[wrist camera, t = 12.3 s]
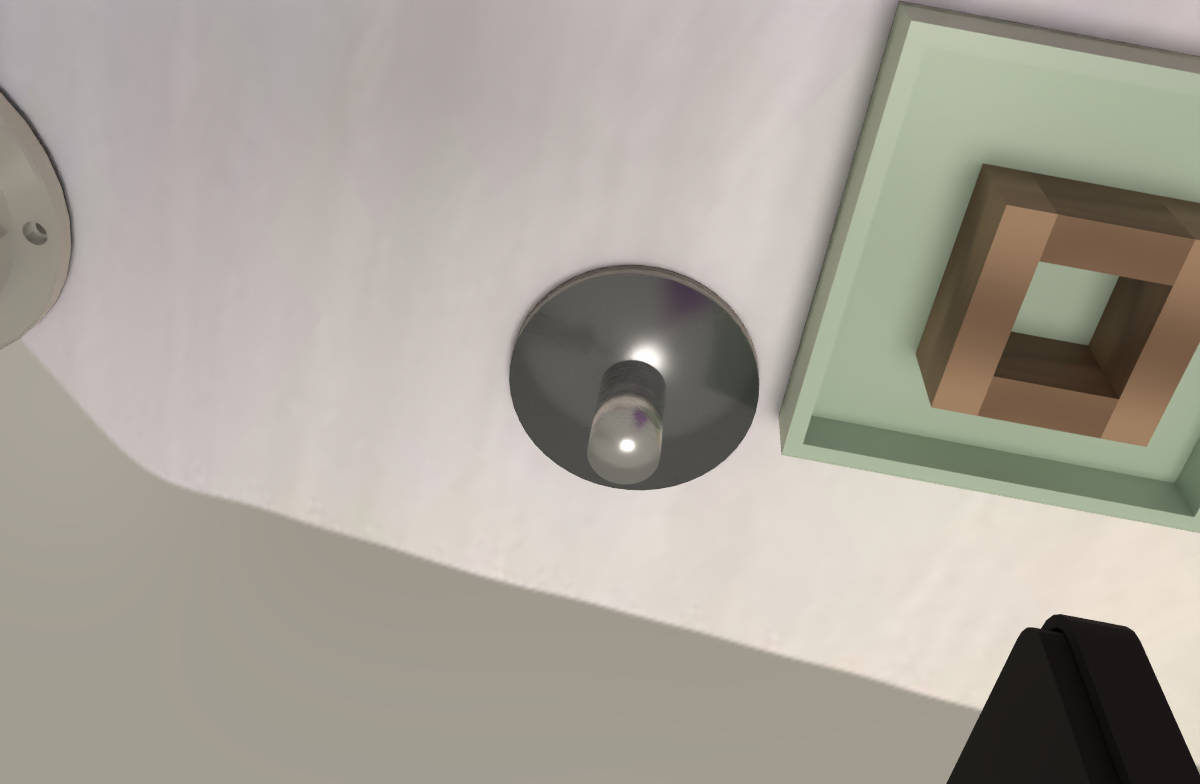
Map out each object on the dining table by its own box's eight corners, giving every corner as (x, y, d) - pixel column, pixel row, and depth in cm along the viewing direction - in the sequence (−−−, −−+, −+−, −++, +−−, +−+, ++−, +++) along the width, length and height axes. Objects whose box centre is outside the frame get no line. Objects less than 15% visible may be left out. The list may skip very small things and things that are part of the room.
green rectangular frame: (778, 416, 41) (781, 454, 39) (899, 1, 33) (911, 20, 31) (1179, 491, 41) (1203, 533, 39) (1395, 92, 33) (1441, 119, 31)
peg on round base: (500, 454, 43) (475, 535, 39) (528, 244, 38) (503, 309, 34) (728, 496, 43) (728, 582, 39) (784, 291, 38) (792, 363, 34)
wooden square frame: (982, 163, 35) (1006, 204, 32) (1202, 203, 35) (1247, 249, 32) (915, 353, 39) (931, 407, 36) (1114, 390, 38) (1146, 447, 36)
